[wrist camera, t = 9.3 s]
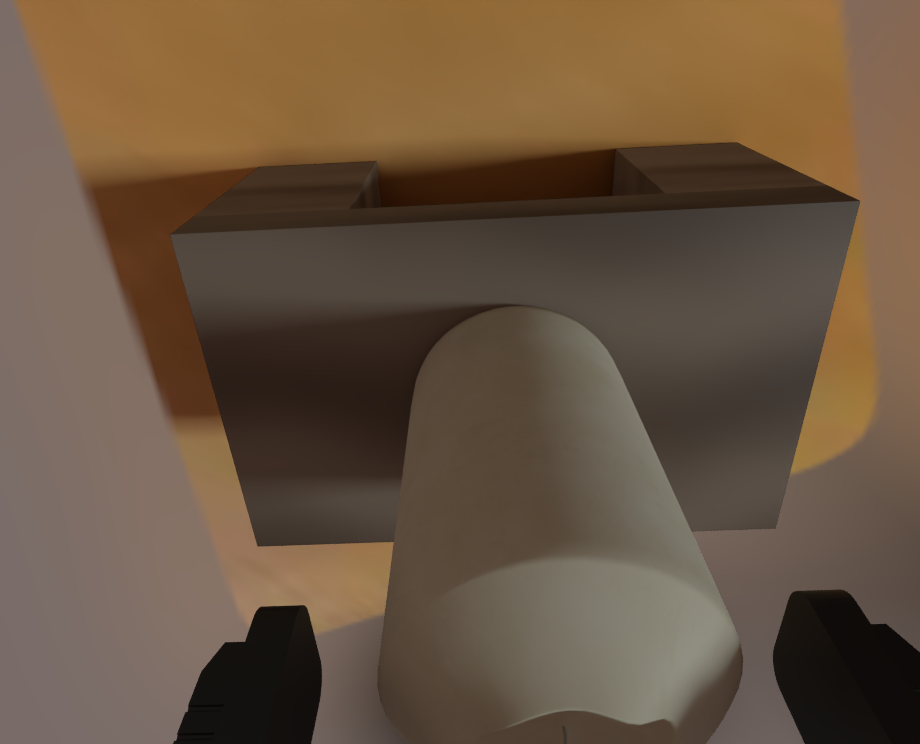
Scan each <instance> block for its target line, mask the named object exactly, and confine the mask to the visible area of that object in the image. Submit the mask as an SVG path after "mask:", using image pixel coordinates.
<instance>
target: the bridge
mask: <svg viewBox="0 0 920 744" xmlns="http://www.w3.org/2000/svg"><path fill="white" fill-rule="evenodd" d="M859 204H860V201H859V200H857V199H855V198H853V197H851V196H849V195H847V194H845V193H842V192H840V191H838V190H836V189H834V188H832V187H830V186H828V185H826V184H823V183H821V182H819V181H817V180H815V179H813V178H811V177H809V176H807V175H804V174H802V173H800V172H798V171H796V170H794V169H792V168H790V167H788V166H785V165H783V164H781V163H779V162H777V161H775V160H773V159H771V158H769V157H766V156H764V155H762V154H760V153H758V152H756V151H754V150H752V149H750V148H747V147H745V146H743V145H741V144H739V143H719V144H699V145H680V146H660V147H641V148H622V149H615V164H614V179H613V194H612V196H603V197H583V198H563V199H543V200H522V201H502V202H482V203H462V204H442V205H421V206H401V207H382V206H381V197H380V188H379V179H378V170H377V161H369V162H350V163H330V164H311V165H292V166H272V167H258V168H257V169H256V170H254V171H253V172H252V173H250V174H249V175H248V176H247V177H245V178H244V179H243V180H241V181H240V182H239V183H237V184H236V185H235V186H233V187H232V188H231V189H229V190H228V191H227V192H225V193H224V194H223V195H221V196H220V197H219V198H218V199H216V200H215V201H214V202H212V203H211V204H210V205H208V206H207V207H206V208H204V209H203V210H202V211H200V212H199V213H198V214H196V215H195V216H194V217H192V218H191V219H190V220H188V221H187V222H186V223H185V224H183V225H182V226H181V227H179V228H178V229H177V230H175V231H174V232H173V233H171V234H170V237H171V240H172V244H173V247H174V251H175V254H176V258H177V262H178V265H179V269H180V272H181V276H182V279H183V283H184V286H185V290H186V294H187V297H188V301H189V304H190V308H191V311H192V315H193V318H194V322H195V326H196V329H197V333H198V336H199V340H200V343H201V347H202V350H203V354H204V358H205V361H206V365H207V368H208V372H209V375H210V379H211V382H212V386H213V390H214V393H215V397H216V400H217V404H218V407H219V411H220V414H221V418H222V422H223V425H224V429H225V432H226V436H227V439H228V443H229V446H230V450H231V453H232V457H233V461H234V464H235V468H236V471H237V475H238V478H239V482H240V485H241V489H242V493H243V496H244V500H245V503H246V507H247V510H248V514H249V517H250V521H251V525H252V528H253V532H254V535H255V539H256V542H257V546H286V545H315V544H343V543H372V542H394V538H395V530H396V522H397V514H398V506H399V498H400V491H401V483H402V475H403V467H404V459H405V451H406V443H407V435H408V427H409V420H410V412H411V405H412V399H413V393H414V388H415V383H416V379H417V376H418V374H419V371H420V368H421V366H422V364H423V362H424V361H425V359H426V357H427V355H428V353H429V352H430V350H431V349H432V348H433V346H434V345H435V344H436V343H437V342H438V341H439V339H440V338H441V337H442V336H443V335H444V334H445V333H447V332H448V331H449V330H451V329H452V328H453V327H454V326H456V325H457V324H459V323H461V322H462V321H464V320H466V319H468V318H470V317H472V316H474V315H477V314H479V313H482V312H485V311H489V310H492V309H496V308H502V307H510V306H530V307H539V308H544V309H549V310H552V311H555V312H558V313H561V314H564V315H566V316H568V317H570V318H572V319H574V320H576V321H577V322H579V323H580V324H582V325H583V326H585V327H586V328H587V329H588V330H589V331H590V332H591V333H593V334H594V335H595V336H596V337H597V338H598V339H599V341H600V342H601V343H602V344H603V345H604V347H605V348H606V349H607V351H608V352H609V354H610V356H611V357H612V359H613V361H614V363H615V365H616V367H617V369H618V371H619V373H620V375H621V377H622V379H623V381H624V383H625V386H626V388H627V390H628V392H629V394H630V397H631V399H632V401H633V403H634V406H635V408H636V410H637V412H638V414H639V417H640V419H641V421H642V423H643V425H644V428H645V430H646V432H647V434H648V437H649V439H650V441H651V443H652V445H653V448H654V450H655V452H656V454H657V456H658V459H659V461H660V463H661V465H662V468H663V470H664V472H665V474H666V476H667V479H668V481H669V483H670V485H671V487H672V490H673V492H674V494H675V496H676V499H677V501H678V503H679V505H680V507H681V510H682V512H683V514H684V516H685V518H686V521H687V523H688V525H689V527H690V530H691V531H716V530H717V531H718V530H747V529H772V528H773V529H775V528H776V525H777V521H778V517H779V513H780V509H781V506H782V502H783V498H784V494H785V490H786V486H787V482H788V478H789V475H790V471H791V467H792V463H793V459H794V455H795V451H796V448H797V444H798V440H799V436H800V432H801V428H802V424H803V420H804V417H805V413H806V409H807V405H808V401H809V397H810V393H811V390H812V386H813V382H814V378H815V374H816V370H817V366H818V362H819V359H820V355H821V351H822V347H823V343H824V339H825V335H826V332H827V328H828V324H829V320H830V316H831V312H832V308H833V304H834V301H835V297H836V293H837V289H838V285H839V281H840V277H841V274H842V270H843V266H844V262H845V258H846V254H847V250H848V246H849V243H850V239H851V235H852V231H853V227H854V223H855V219H856V216H857V212H858V208H859Z"/></svg>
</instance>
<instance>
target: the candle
mask: <svg viewBox="0 0 920 744" xmlns="http://www.w3.org/2000/svg"><path fill="white" fill-rule="evenodd" d="M742 666H743V655H742V649H741V644H740V640H739V638H738V635H737V633H736V630H735V628H734V625H733V623H732V621H731V618H730V616H729V614H728V612H727V609H726V607H725V605H724V603H723V601H722V599H721V596H720V594H719V592H718V590H717V587H716V585H715V583H714V581H713V578H712V576H711V574H710V572H709V570H708V567H707V565H706V563H705V561H704V558H703V556H702V554H701V552H700V550H699V547H698V545H697V543H696V541H695V538H694V536H693V534H692V532H691V530H690V527H689V525H688V523H687V521H686V518H685V516H684V514H683V512H682V510H681V507H680V505H679V503H678V501H677V499H676V496H675V494H674V492H673V490H672V487H671V485H670V483H669V481H668V479H667V476H666V474H665V472H664V470H663V468H662V465H661V463H660V461H659V459H658V456H657V454H656V452H655V450H654V448H653V445H652V443H651V441H650V439H649V437H648V434H647V432H646V430H645V428H644V425H643V423H642V421H641V419H640V417H639V414H638V412H637V410H636V408H635V406H634V403H633V401H632V399H631V397H630V394H629V392H628V390H627V388H626V386H625V383H624V381H623V379H622V377H621V375H620V373H619V371H618V369H617V367H616V365H615V363H614V361H613V359H612V357H611V356H610V354H609V352H608V351H607V349H606V348H605V347H604V345H603V344H602V343H601V342H600V341H599V339H598V338H597V337H596V336H595V335H594V334H593V333H591V332H590V331H589V330H588V329H587V328H586V327H585V326H583V325H582V324H580V323H579V322H577V321H576V320H574V319H572V318H570V317H568V316H566V315H564V314H561V313H558V312H555V311H552V310H549V309H544V308H539V307H530V306H510V307H502V308H496V309H492V310H489V311H485V312H482V313H479V314H477V315H474V316H472V317H470V318H468V319H466V320H464V321H462V322H461V323H459V324H457V325H456V326H454V327H453V328H452V329H451V330H449V331H448V332H447V333H445V334H444V335H443V336H442V337H441V338H440V339H439V341H438V342H437V343H436V344H435V345H434V346H433V348H432V349H431V350H430V352H429V353H428V355H427V357H426V359H425V361H424V362H423V364H422V366H421V368H420V371H419V374H418V376H417V379H416V383H415V388H414V393H413V399H412V405H411V412H410V420H409V427H408V435H407V443H406V451H405V459H404V467H403V475H402V483H401V491H400V498H399V506H398V514H397V522H396V530H395V538H394V546H393V554H392V562H391V569H390V577H389V585H388V593H387V601H386V609H385V617H384V625H383V633H382V641H381V649H380V657H379V665H378V691H379V696H380V701H381V703H382V706H383V709H384V711H385V714H386V716H387V717H388V718H389V720H390V722H391V723H392V725H393V727H394V728H395V729H396V730H397V732H398V733H399V734H400V735H401V736H402V737H403V738H404V740H405V741H406V742H407V743H408V744H706V743H707V741H708V740H709V739H710V737H711V736H712V734H713V733H714V732H715V730H716V729H717V727H718V726H719V724H720V723H721V721H722V720H723V718H724V716H725V715H726V713H727V711H728V709H729V707H730V705H731V703H732V701H733V699H734V697H735V695H736V692H737V690H738V688H739V684H740V680H741V676H742Z"/></svg>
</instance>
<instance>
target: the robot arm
mask: <svg viewBox="0 0 920 744" xmlns="http://www.w3.org/2000/svg"><path fill="white" fill-rule="evenodd" d="M773 665H774V671H775V676H776V680H777V683H778V686H779V688H780V691H781V693H782V695H783V697H784V700H785V702H786V704H787V706H788V708H789V710H790V712H791V715H792V717H793V719H794V721H795V723H796V726H797V728H798V730H799V732H800V734H801V736H802V738H803V741H804V743H805V744H920V652H919V651H918V650H916V649H915V648H914V647H913V646H912V645H910V644H909V643H908V642H907V641H906V640H905V639H903V638H902V637H901V636H900V635H899V634H897V633H896V632H895V631H894V630H893V629H892V628H890V627H889V626H888V625H887V624H870V622H869V621H868V619H867V618H866V616H865V614H864V613H863V611H862V610H861V608H860V607H859V606H858V604H857V602H856V601H855V600H854V598H853V597H852V596H851V595H850V594H849V593H848V592H846V591H844V590H817V591H816V590H814V591H795V592H793V593H792V594H791V595H790V597H789V600H788V603H787V607H786V610H785V613H784V616H783V620H782V623H781V626H780V630H779V633H778V636H777V639H776V643H775V646H774V650H773ZM321 686H322V668H321V660H320V657H319V652H318V648H317V645H316V641H315V636H314V632H313V629H312V625H311V621H310V617H309V613H308V610H307V608H306V606H304V605H299V606H268V607H260V608H259V609H258V610H257V611H256V613H255V615H254V618H253V620H252V623H251V626H250V629H249V632H248V635H247V638H246V641H245V642H225V643H224V645H223V646H222V647H221V648H220V649H219V651H218V652H217V653H216V654H215V656H214V657H213V658H212V659H211V661H210V662H209V663H208V664H207V665H206V667H205V668H204V669H203V670H202V672H201V674H200V676H199V679H198V682H197V684H196V687H195V689H194V692H193V695H192V697H191V700H190V702H189V705H188V712H186V713H185V715H184V717H183V720H182V723H181V725H180V728H179V730H178V733H177V735H178V736H177V740H176V741H174V743H173V744H311V741H312V736H313V731H314V727H315V722H316V717H317V712H318V707H319V702H320V696H321Z"/></svg>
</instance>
